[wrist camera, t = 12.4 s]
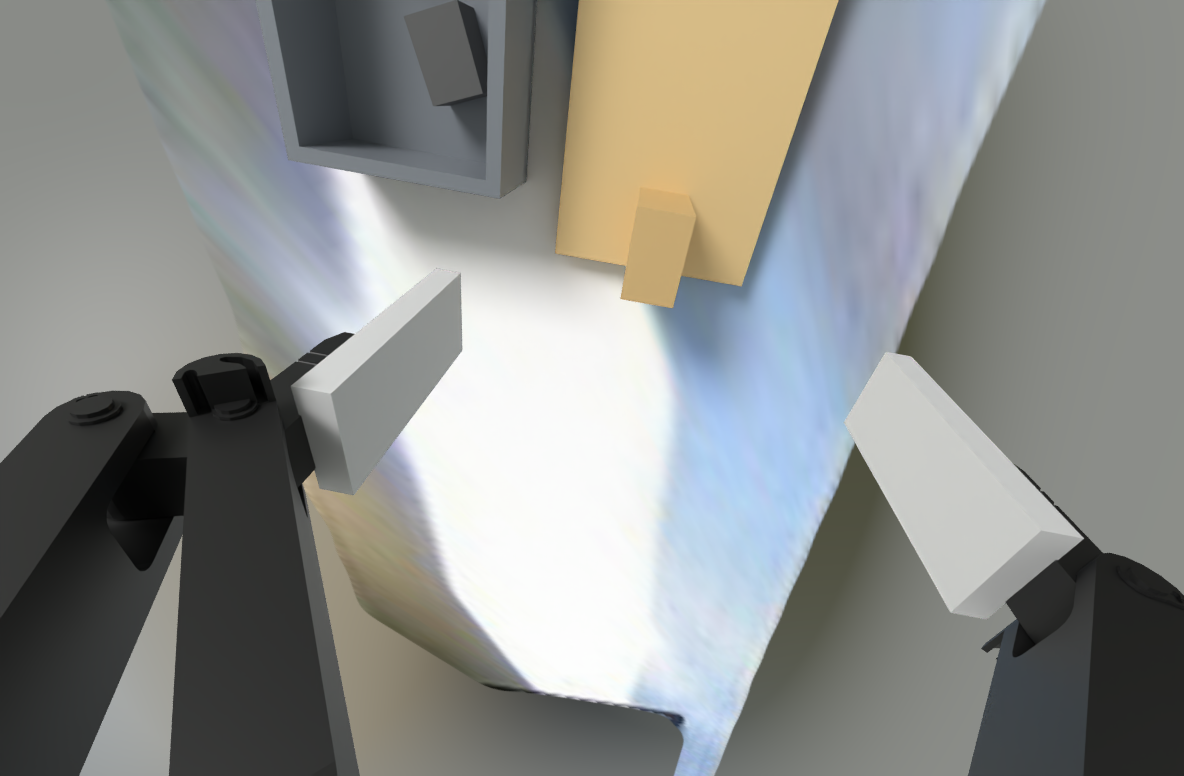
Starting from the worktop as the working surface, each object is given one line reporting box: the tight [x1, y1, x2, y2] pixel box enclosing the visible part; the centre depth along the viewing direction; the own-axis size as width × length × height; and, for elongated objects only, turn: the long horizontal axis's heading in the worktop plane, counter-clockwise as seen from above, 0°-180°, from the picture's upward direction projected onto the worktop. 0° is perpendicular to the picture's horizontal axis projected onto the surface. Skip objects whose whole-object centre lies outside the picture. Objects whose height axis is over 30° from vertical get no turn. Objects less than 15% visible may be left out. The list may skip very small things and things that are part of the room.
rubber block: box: [404, 0, 488, 106], centre depth 25 cm, size 4×3×2 cm
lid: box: [555, 0, 838, 308], centre depth 24 cm, size 19×13×8 cm
